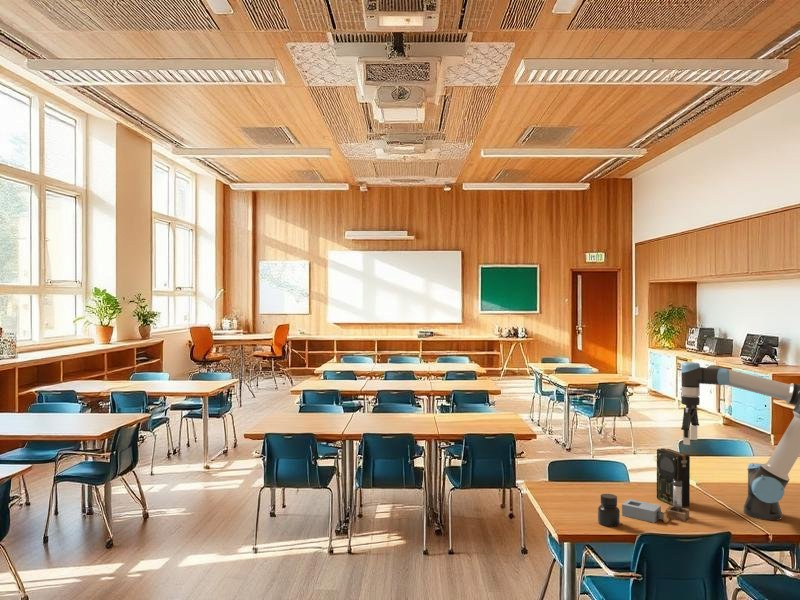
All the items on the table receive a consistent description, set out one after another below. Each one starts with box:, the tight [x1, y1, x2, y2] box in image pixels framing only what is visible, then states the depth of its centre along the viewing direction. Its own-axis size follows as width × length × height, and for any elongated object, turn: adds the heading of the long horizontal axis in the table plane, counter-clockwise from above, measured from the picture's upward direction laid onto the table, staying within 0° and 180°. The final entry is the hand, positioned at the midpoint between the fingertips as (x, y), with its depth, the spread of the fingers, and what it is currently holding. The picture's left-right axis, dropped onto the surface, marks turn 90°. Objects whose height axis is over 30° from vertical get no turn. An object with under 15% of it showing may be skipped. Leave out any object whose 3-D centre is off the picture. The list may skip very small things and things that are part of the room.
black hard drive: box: [656, 447, 691, 508], centre depth 284 cm, size 16×9×25 cm, turn 16°
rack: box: [665, 505, 690, 523], centre depth 264 cm, size 8×8×4 cm
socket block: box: [621, 498, 662, 524], centre depth 265 cm, size 14×10×5 cm
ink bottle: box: [597, 493, 621, 528], centre depth 256 cm, size 10×9×12 cm
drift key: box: [657, 510, 670, 524], centre depth 261 cm, size 9×4×4 cm, turn 51°
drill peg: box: [673, 480, 683, 513], centre depth 264 cm, size 4×4×16 cm
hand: (690, 442), depth 270 cm, fingers open, 13 cm apart
